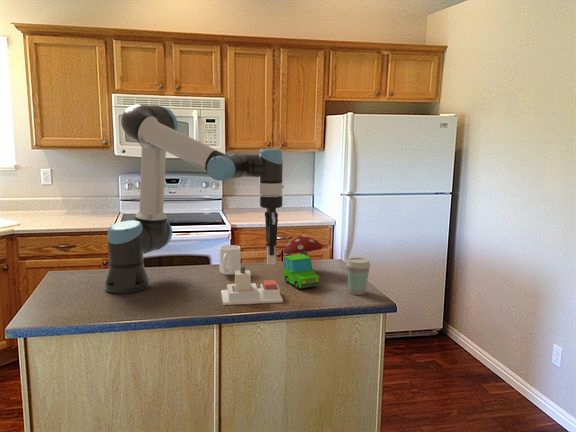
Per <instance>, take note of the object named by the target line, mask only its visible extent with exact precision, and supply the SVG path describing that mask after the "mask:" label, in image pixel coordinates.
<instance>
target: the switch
mask: <svg viewBox="0 0 576 432" xmlns="http://www.w3.org/2000/svg"><path fill="white" fill-rule="evenodd" d="M262 284H263V286H264V289H265V290H272V289H277V285H278V283H277V282H276V279H269V280H268V279H266V280H265V279H264V280H263V283H262Z"/></svg>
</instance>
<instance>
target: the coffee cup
mask: <svg viewBox="0 0 576 432" xmlns="http://www.w3.org/2000/svg"><path fill="white" fill-rule="evenodd" d="M345 265H346V269H347V271H346V272H347V273H346V274H347V283H348V293H349V294H350V295H353V296H354V295H355V296H363V295H365V294H366V291H367V285H368V279H369V272H370V268H371V263H370V260H369V259H367V258H365V257H349V258H348V259H347V261H346V264H345Z"/></svg>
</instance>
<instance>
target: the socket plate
mask: <svg viewBox="0 0 576 432" xmlns="http://www.w3.org/2000/svg"><path fill="white" fill-rule="evenodd" d="M259 287H260V288H258V286H257V284H256V283H255V282H254V283H252V282H251V291H244V292H235V283H227V284H226V289H222V290H220V294H221V301H222V305H223V306H225V305H226V306H230V305H252V304H253V305H254V304H272V303H277V304H278V303H283V302H284V299H283V297H282V295H281V290H280V289H281V288H280V287H279V285H278V284H277V289H272V290H265V289H264V286H263V283H260V285H259Z"/></svg>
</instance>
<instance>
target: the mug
mask: <svg viewBox="0 0 576 432" xmlns="http://www.w3.org/2000/svg"><path fill="white" fill-rule="evenodd" d="M240 267H241V246H240V245H235V244H234V245H233V244H226V245H221V246H219V273H220V274H221V275H225V276H226V275H227V276H233V275H234V276H235V271H240Z"/></svg>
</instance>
